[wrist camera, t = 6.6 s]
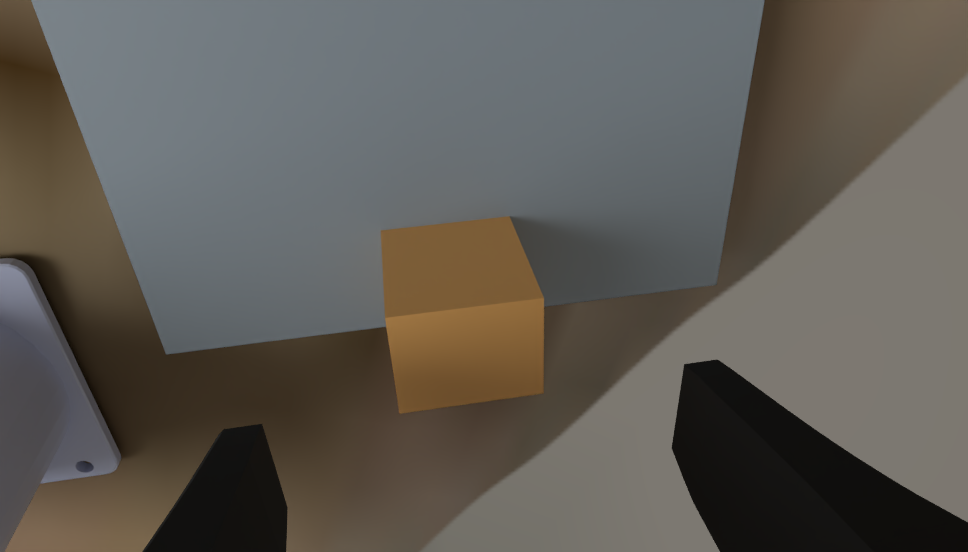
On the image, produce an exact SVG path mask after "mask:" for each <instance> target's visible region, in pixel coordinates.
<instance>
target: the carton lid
mask: <svg viewBox="0 0 968 552" xmlns="http://www.w3.org/2000/svg"><path fill="white" fill-rule="evenodd" d="M31 1H32V3H33V6H34V9H35V11H36V14H37V17H38V19H39V22H40V25H41V27H42V30H43V32H44V35H45V38H46V40H47V43H48V46H49V48H50V51H51V53H52V56H53V59H54V61H55V64H56V67H57V69H58V72H59V74H60V77H61V80H62V82H63V85H64V88H65V90H66V93H67V95H68V98H69V101H70V103H71V106H72V109H73V111H74V114H75V116H76V119H77V122H78V124H79V127H80V130H81V132H82V135H83V137H84V140H85V143H86V145H87V148H88V151H89V153H90V156H91V158H92V161H93V164H94V166H95V169H96V172H97V174H98V177H99V179H100V182H101V185H102V187H103V190H104V193H105V195H106V198H107V200H108V203H109V206H110V208H111V211H112V214H113V216H114V219H115V221H116V224H117V227H118V229H119V232H120V235H121V237H122V240H123V242H124V245H125V248H126V250H127V253H128V256H129V258H130V261H131V263H132V266H133V269H134V271H135V274H136V277H137V279H138V282H139V284H140V287H141V290H142V292H143V295H144V298H145V300H146V303H147V305H148V308H149V311H150V313H151V316H152V319H153V321H154V324H155V326H156V329H157V332H158V334H159V337H160V340H161V342H162V345H163V347H164V350H165V353H166V355H167V354H175V353H182V352H190V351H198V350H206V349H214V348H222V347H230V346H238V345H246V344H253V343H261V342H269V341H277V340H285V339H293V338H301V337H309V336H317V335H325V334H332V333H340V332H348V331H356V330H364V329H372V328H380V327H386V328H387V334H388V341H389V348H390V354H391V361H392V367H393V374H394V381H395V387H396V394H397V400H398V407H399V414H401V413H409V412H416V411H423V410H430V409H437V408H444V407H451V406H458V405H465V404H472V403H479V402H487V401H494V400H501V399H508V398H515V397H522V396H529V395H536V394H543V393H544V307H546V306H554V305H562V304H569V303H577V302H585V301H593V300H601V299H609V298H617V297H625V296H633V295H641V294H648V293H656V292H664V291H672V290H680V289H688V288H696V287H704V286H712V285H716V284H717V278H718V272H719V266H720V260H721V254H722V249H723V243H724V237H725V231H726V225H727V219H728V213H729V207H730V201H731V196H732V190H733V184H734V178H735V172H736V166H737V160H738V154H739V148H740V142H741V137H742V131H743V125H744V119H745V113H746V107H747V101H748V95H749V89H750V83H751V78H752V72H753V66H754V60H755V54H756V48H757V42H758V36H759V30H760V24H761V19H762V13H763V7H764V1H765V0H31Z"/></svg>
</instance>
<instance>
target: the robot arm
mask: <svg viewBox="0 0 968 552" xmlns="http://www.w3.org/2000/svg"><path fill="white" fill-rule="evenodd" d="M672 450H673V452H674V455H675V458H676V460H677V463H678V465H679V468H680V471H681V473H682V476H683V479H684V481H685V483H686V486H687V488H688V491H689V493H690V496H691V498H692V500H693V502H694V504H695V506H696V508H697V510H698V511H699V514H700V516H701V517H702V519H703V521H704V523H705V525H706V527H707V529H708V530H709V532H710V534H711V536H712V538H713V540H714V541H715V543H716V545H717V547H718V549H719V551H720V552H968V522H966V521H964V520H962V519H960V518H959V517H957V516H955V515H953V514H951V513H950V512H948V511H946V510H944V509H942V508H940V507H939V506H937V505H935V504H933V503H931V502H929V501H928V500H926V499H924V498H922V497H921V496H919V495H917V494H915V493H914V492H912V491H910V490H908V489H907V488H905V487H903V486H902V485H900V484H898V483H896V482H895V481H893V480H892V479H890V478H888V477H887V476H885V475H884V474H882V473H881V472H879V471H877V470H876V469H874V468H873V467H871V466H869V465H868V464H866V463H865V462H863V461H861V460H860V459H858V458H857V457H855V456H853V455H852V454H850V453H849V452H848V451H846V450H844V449H843V448H841V447H840V446H838V445H837V444H835V443H834V442H832V441H831V440H830V439H828V438H827V437H825V436H824V435H822V434H821V433H819V432H818V431H816V430H815V429H814V428H812V427H811V426H809V425H808V424H806V423H805V422H804V421H802V420H801V419H799V418H798V417H797V416H795V415H794V414H792V413H791V412H790V411H788V410H787V409H785V408H784V407H783V406H781V405H780V404H778V403H777V402H776V401H774V400H773V399H772V398H770V397H769V396H767V395H766V394H765V393H763V392H762V391H761V390H759V389H758V388H757V387H755V386H754V385H752V384H751V383H750V382H748V381H747V380H746V379H744V378H743V377H742V376H740V375H738V374H737V373H736V372H735V371H733V370H732V369H730V368H729V367H727V366H726V365H725V364H723V363H722V362H720V361H719V360H711V361H704V362H697V363H690V364H684V370H683V376H682V384H681V390H680V397H679V403H678V410H677V417H676V423H675V430H674V437H673V443H672ZM120 460H121V454H120V452H119V450H118V448H117V446H116V444H115V441H114V439H113V437H112V435H111V433H110V431H109V429H108V427H107V425H106V423H105V420H104V418H103V416H102V414H101V412H100V410H99V408H98V406H97V404H96V402H95V399H94V397H93V395H92V393H91V391H90V389H89V387H88V385H87V383H86V381H85V378H84V376H83V374H82V372H81V370H80V368H79V366H78V364H77V362H76V360H75V357H74V355H73V353H72V351H71V349H70V347H69V345H68V343H67V341H66V339H65V336H64V334H63V332H62V330H61V328H60V326H59V324H58V322H57V320H56V317H55V315H54V313H53V311H52V309H51V307H50V305H49V303H48V301H47V299H46V296H45V294H44V292H43V290H42V288H41V286H40V284H39V282H38V280H37V278H36V275H35V273H34V271H33V270H32V269H31V267H30V266H29V265H27V264H26V263H24V262H23V261H20V260H17V259H15V258H2V259H0V552H4V551H5V549H6V547H7V546H8V544H9V542H10V540H11V538H12V536H13V534H14V532H15V530H16V528H17V527H18V525H19V523H20V521H21V519H22V517H23V515H24V513H25V511H26V509H27V507H28V506H29V504H30V502H31V500H32V498H33V496H34V494H35V492H36V490H37V488H38V486H39V485H40V484H41V483H48V482H54V481H61V480H68V479H75V478H82V477H89V476H96V475H103V474H108V473H112V472H114V471H115V470H116V469H117V467H118V465H119V463H120ZM83 461H87V462H90V463H86V462H83ZM286 539H287V505H286V501H285V498H284V495H283V491H282V488H281V485H280V482H279V478H278V475H277V472H276V468H275V465H274V462H273V459H272V455H271V452H270V449H269V445H268V442H267V439H266V436H265V432H264V429H263V426H262V424H258V425H251V426H244V427H237V428H230V429H224V430H223V431H222V432H221V433H220V434H219V435H218V437H217V438H216V440H215V442H214V443H213V445H212V446H211V448H210V450H209V451H208V453H207V454H206V456H205V458H204V459H203V461H202V463H201V464H200V466H199V467H198V469H197V471H196V472H195V474H194V475H193V477H192V479H191V480H190V482H189V483H188V485H187V486H186V488H185V489H184V491H183V493H182V494H181V496H180V497H179V499H178V500H177V502H176V503H175V505H174V506H173V508H172V509H171V511H170V512H169V514H168V515H167V517H166V518H165V520H164V521H163V523H162V524H161V525H160V527H159V528H158V530H157V531H156V533H155V534H154V536H153V537H152V539H151V540H150V542H149V543H148V545H147V546H146V547H145V549H144V550H143V552H286Z"/></svg>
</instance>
